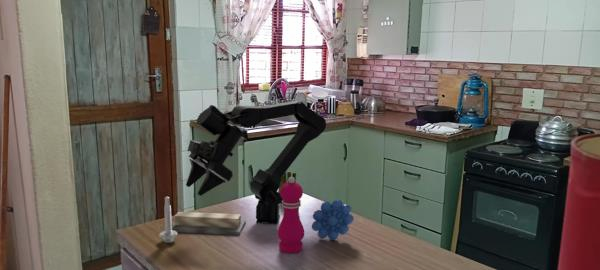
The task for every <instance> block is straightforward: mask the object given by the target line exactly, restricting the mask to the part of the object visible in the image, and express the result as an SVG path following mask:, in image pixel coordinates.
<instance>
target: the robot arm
mask: <svg viewBox="0 0 600 270" xmlns="http://www.w3.org/2000/svg"><path fill="white" fill-rule="evenodd" d="M289 116H290V117H291V116H293V117H294V118H295V120H296V121H298V123H297V126H296V131H295V134H294V135H293V137H292V138H291V139H290V141H289V142H288V143H287V144H286V146H284V148H283V150H282V151H281V152H280V154H278V155H277V157H276V158H275V160H273V162H272V164H271V165H270V166H269V167H268V168H267V169H264V170H263V169H260V168H259V169H258V170H257V172H256V173H255V175H254V176H253V177H251V182H250V184H249V186H250V187H249V189H250V193H252V194H253V195H254V197H255V199H256V200H258V201H257V204H256V205H255V219H256V223H257V224H271V225H272V224H274V225H275V224H276V225H277V224H278V223H279V221H280V217H281V215H280V205H282V200H283V199H282V197H281V196H280V193H279V192H278V189H279V187H280V182H281V178H282V176H283V175H284V173H285V172H286V173H287V172H288V170H289V168H290V167H291V166H292V164H293V163H294V162H295V160H296V159H297V158H298V156H299V155H300V154H302V153H301V152H302V151H303V150H304V149H305V147H306V146H307V145H308V143H309V142H311V141H313V140H315V139H316V138H318V137H319V136H321V134H323V132H325V131H326V127H327V123H326V122H327V121H326V119H325V117H324V116H323V115H319V114H318V113H316V112H315V111H314V110H313V109H311V108H309V107H308V106H307V105H306V104H305V103H304V102H303V101H299V100H291V101H287V102H281V103H276V104H275V103H274V104H269V105H262V106H255V105H254V106H253V105H236V106H234V107H233V109H232V110H230V111H227V112H225V113H223V112H222V111H221V110H219V109H218V107H216V106H215V105H212V104H211V105H209V107H208V108H206V109H204V110H203V111H202V112H200V114H199V115H198V117H197V119H196V125H198V126H199V127H200V128H201V129H203V130H205V131H206V132H207V133H208V134H210V135H211V136H216V135H217V137H216V139H215V140H210V141H204V140H202V141H197V140H194V139H190V140H189V144H188V147H187V152H190V154H189V155H188V157H189V162H190V165H191V167H190V171H189V175H188V177H187V180H186V182H185V183H186V184H185V186H186V187H188V188H190V187H191V186H192V185H194V184H195V183H196V182H197V181H198V180H200V179H201V178H202V177H203V176H205V175H206V177H204V180H203V181H202V183H201V185H200V187H199V189H198V191H197V196H201V197H202V196H203V195H204V194H206V193H208V192H210V191H211V190H212V189H215V188H216V187H219V186H220V185H221V184H223V183H226V181H227V182H230V180H231V179H232V178H233V176H234V174H233V170H231V169H229V168H228V167H226V166H225V165H224V164H225V162H226V161H227V159H228V158H229V157H230V158H231V157H233V156H234V153H232V151H234V149H235V147H236V146H237V144H238V143H239V142H240V140H241V139H243V140H244V141H248V140H249V139H250V138H249V135H248V130H247V129H248V128H252V127H255V126H257V125H260V124H261V123H262V122H264V121H265V122H266V121H268V120H272V119H278V118H285V117H289ZM229 123H231V124H233V125H230V124H229ZM239 126H240V127H242V128H247V129H241V128H240V127H239Z"/></svg>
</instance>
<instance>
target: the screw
mask: <svg viewBox="0 0 600 270" xmlns="http://www.w3.org/2000/svg"><path fill="white" fill-rule="evenodd" d="M170 199H171V198H170V197H169V196H165V197H164V207H163V209H164V211H163V212H164V213H163V214H164V215H163V216H164V230H163V231H161V232H160V233H159V236H158V237H160V239H163V242H164V244H166V243H167V244H171V243H173V242H175V241H174V240H175V238H176V237H177V236H178V233H179V232H176V231H174V230H171V229H172V228H171V227H172V226H171V225H172V224H173V223H172V207H171V203H170V202H171V201H170Z"/></svg>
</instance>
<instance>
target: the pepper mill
mask: <svg viewBox="0 0 600 270" xmlns="http://www.w3.org/2000/svg"><path fill="white" fill-rule="evenodd" d="M303 190H304V189H303V187H302V185H300V184H299V183H298V182H296V183H295V178H294V177H292V176H291V177H289V179H288V182H287V183H285V184H284V185H283V186H282V187H281V189H280V196H281V197H282V199H283V200H282V204H281V206H282V207H283V215H282V219H281V222H280V224H279V226H278V228H277V233H276V234H277V238H278V239H279V240H280V241H279V242H278V244H279V245H278V250H279V251H280V252H281V253H284V254H297V253H300V252H301V251H302V250H303V239H304V237H305V228H304V224H303V223H302V221H301V218H300V212H299V211H300V207H302V206H301V205H302V204H301V203H302V200H301V199H302V197H303V195H304V191H303Z"/></svg>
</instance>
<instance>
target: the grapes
mask: <svg viewBox="0 0 600 270" xmlns="http://www.w3.org/2000/svg"><path fill="white" fill-rule="evenodd" d="M351 211H352V206H351V205H350V204H347V203H346V204H343V202H342V200H341V199H337V198H336V199H335V200H333V201H332V202H329V201H324V202H323V203H321V205H320V209H317V210H315V211H314V213H313V215H312V219H314V221H313V222H312V224H311V229H312V230H313V231H314V232H317V237H318V238H319V239H326V238H327V237H328V239H329V240H330V241H334V240H336V239H338V238H339V235H341V236H344V235H346V234H348V232H349V226H348V225H351V224H352V223H353V221H354V216H353V215H352V213H351ZM350 213H351V214H350Z"/></svg>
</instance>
